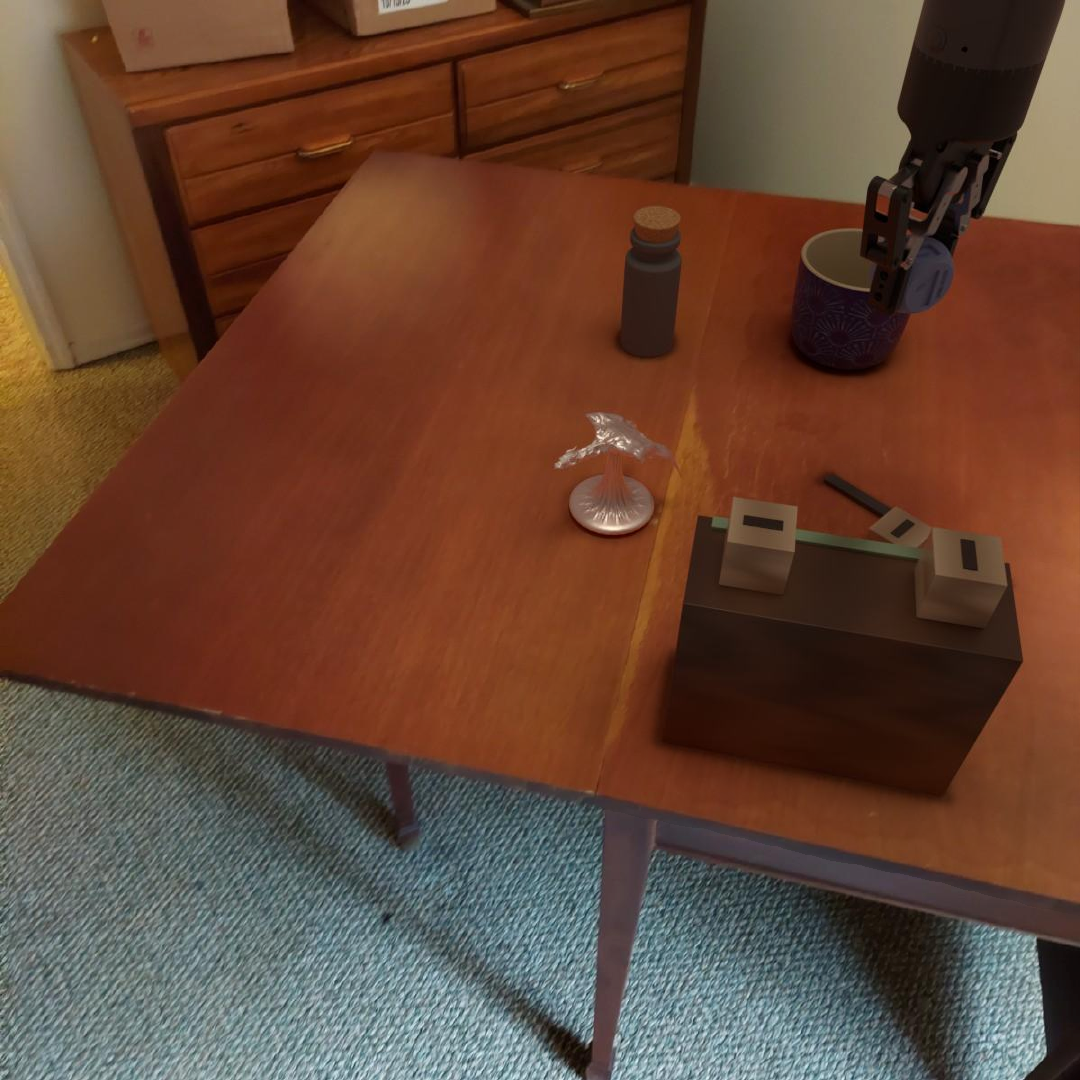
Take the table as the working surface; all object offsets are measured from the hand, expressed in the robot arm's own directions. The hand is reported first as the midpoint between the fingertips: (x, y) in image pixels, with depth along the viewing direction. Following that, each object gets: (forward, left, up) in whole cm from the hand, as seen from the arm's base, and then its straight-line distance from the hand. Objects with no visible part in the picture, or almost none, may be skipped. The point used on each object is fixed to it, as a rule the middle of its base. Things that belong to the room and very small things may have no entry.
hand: (905, 293), depth 68 cm
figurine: (+15, +14, -24) cm, 32 cm away
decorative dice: (0, 0, -1) cm, 1 cm away
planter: (+16, -23, -24) cm, 37 cm away
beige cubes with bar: (-5, -2, -24) cm, 25 cm away
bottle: (+31, -8, -24) cm, 41 cm away
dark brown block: (-11, +19, -24) cm, 32 cm away
